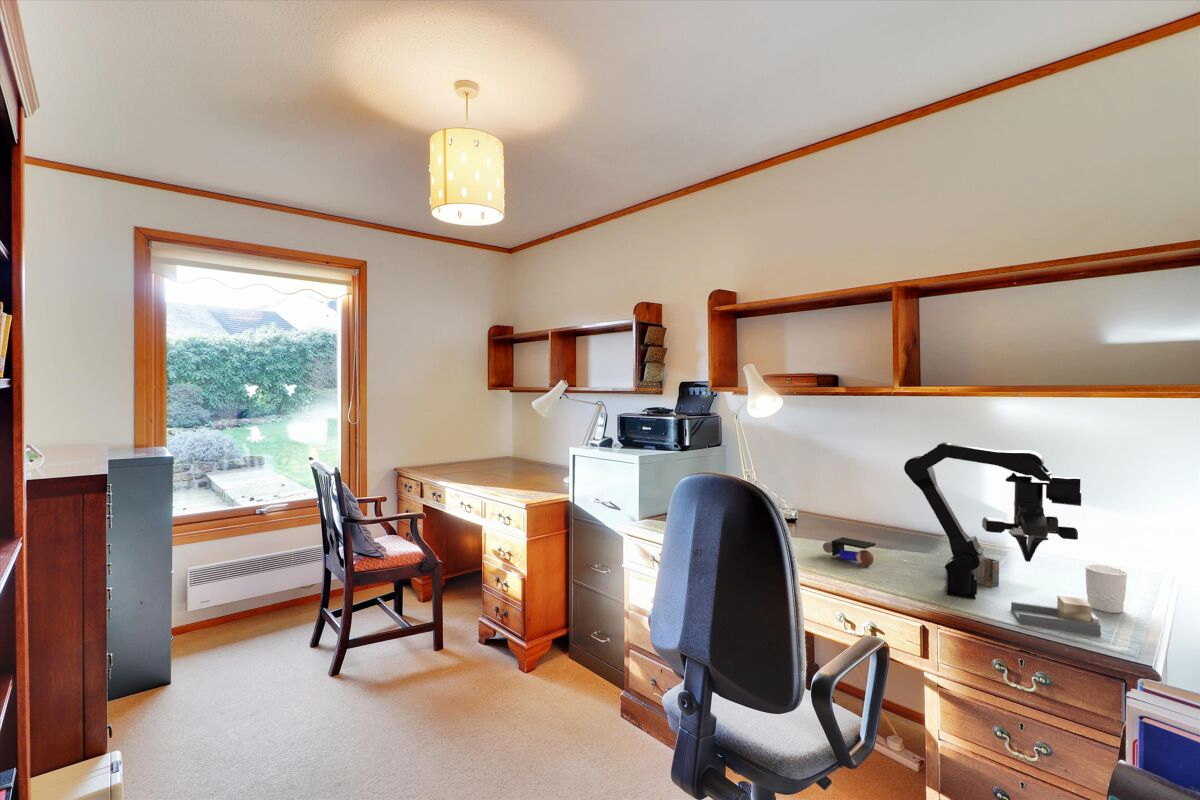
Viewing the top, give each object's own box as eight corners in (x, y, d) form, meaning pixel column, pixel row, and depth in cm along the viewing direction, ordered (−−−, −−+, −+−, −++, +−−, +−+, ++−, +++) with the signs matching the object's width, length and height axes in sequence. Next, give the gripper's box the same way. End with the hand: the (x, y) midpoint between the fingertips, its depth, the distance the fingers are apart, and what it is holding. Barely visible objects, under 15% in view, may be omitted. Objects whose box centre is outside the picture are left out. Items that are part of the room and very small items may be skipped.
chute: (1020, 623, 133) (1020, 610, 133) (1010, 610, 141) (1011, 597, 141) (1100, 635, 126) (1101, 621, 126) (1086, 620, 134) (1086, 606, 134)
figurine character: (822, 562, 184) (867, 569, 172) (820, 539, 184) (864, 544, 172) (834, 558, 188) (878, 565, 176) (832, 535, 188) (876, 540, 176)
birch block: (1063, 623, 131) (1064, 602, 131) (1057, 615, 135) (1057, 595, 135) (1091, 627, 129) (1091, 606, 128) (1083, 619, 133) (1083, 598, 133)
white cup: (1105, 601, 146) (1106, 564, 146) (1135, 614, 138) (1136, 574, 138) (1076, 602, 146) (1077, 564, 145) (1104, 614, 138) (1105, 574, 138)
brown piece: (951, 576, 167) (952, 544, 166) (958, 575, 168) (958, 543, 168) (992, 589, 156) (993, 554, 156) (998, 587, 158) (999, 553, 158)
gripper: (990, 503, 138) (990, 565, 139) (1086, 510, 130) (1085, 576, 131) (982, 495, 148) (981, 553, 149) (1070, 501, 140) (1069, 562, 141)
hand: (1027, 561), depth 142 cm, fingers closed
